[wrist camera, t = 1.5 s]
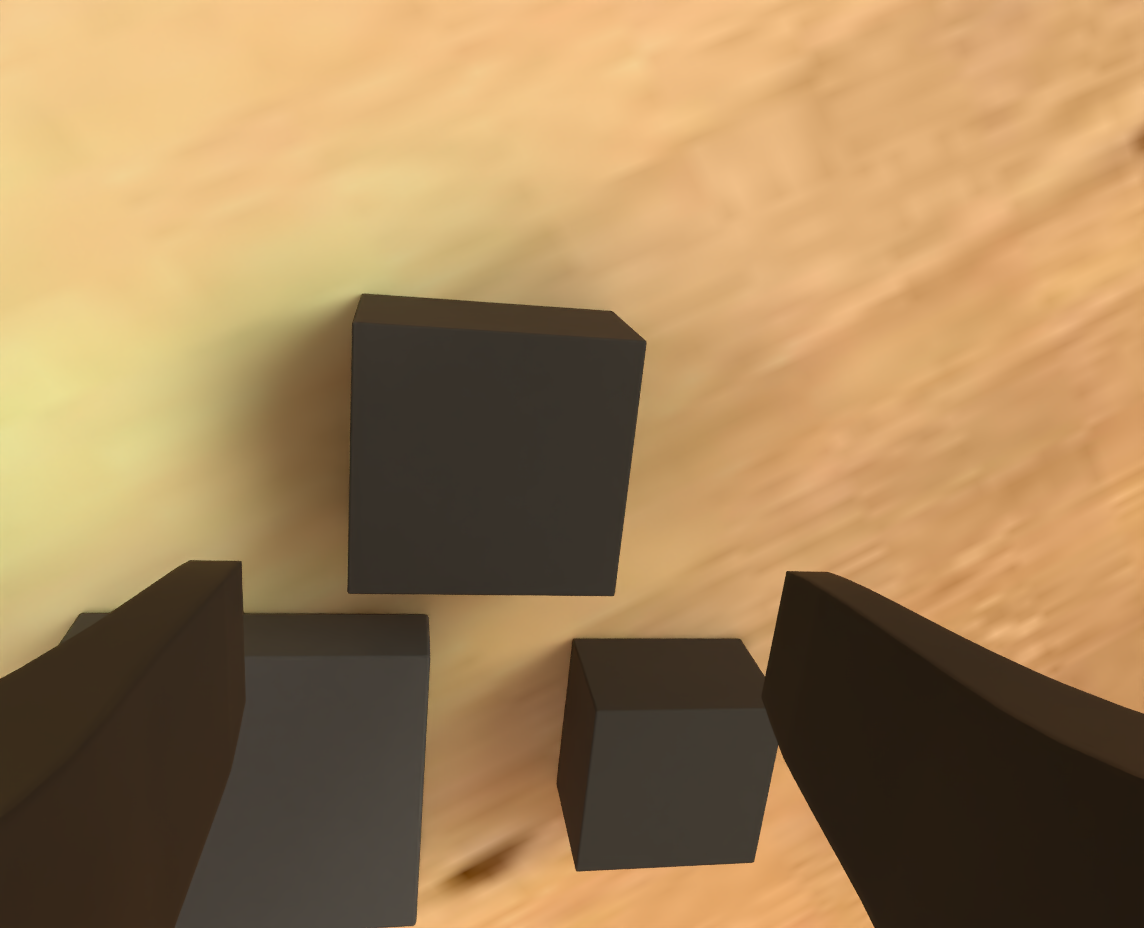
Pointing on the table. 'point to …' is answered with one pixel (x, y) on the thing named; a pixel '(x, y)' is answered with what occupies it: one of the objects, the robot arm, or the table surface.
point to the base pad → (319, 777)
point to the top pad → (664, 753)
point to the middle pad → (489, 447)
